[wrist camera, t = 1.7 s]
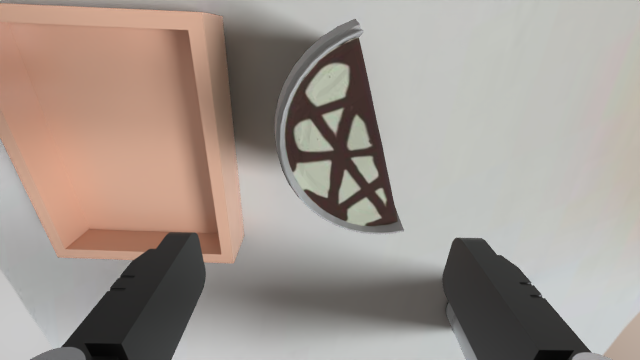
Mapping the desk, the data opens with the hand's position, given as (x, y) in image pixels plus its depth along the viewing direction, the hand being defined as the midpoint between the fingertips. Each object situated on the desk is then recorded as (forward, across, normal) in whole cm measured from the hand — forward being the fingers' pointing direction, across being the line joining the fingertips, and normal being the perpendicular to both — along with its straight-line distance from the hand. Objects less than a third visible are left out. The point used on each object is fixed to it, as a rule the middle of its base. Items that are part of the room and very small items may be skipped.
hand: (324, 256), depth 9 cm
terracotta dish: (+17, +16, +2) cm, 23 cm away
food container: (+17, 0, 0) cm, 17 cm away
